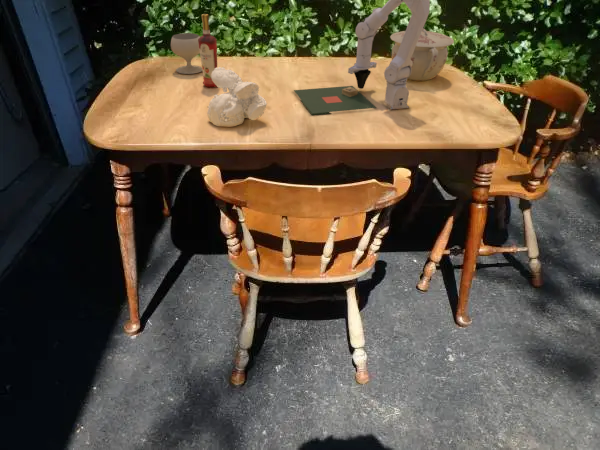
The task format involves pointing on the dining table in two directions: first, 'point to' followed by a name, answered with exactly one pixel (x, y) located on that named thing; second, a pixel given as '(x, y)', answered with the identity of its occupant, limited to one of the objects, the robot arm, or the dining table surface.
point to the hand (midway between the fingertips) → (360, 87)
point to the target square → (331, 99)
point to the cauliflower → (234, 100)
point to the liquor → (207, 52)
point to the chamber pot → (425, 54)
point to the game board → (319, 106)
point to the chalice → (186, 51)
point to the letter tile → (349, 91)
